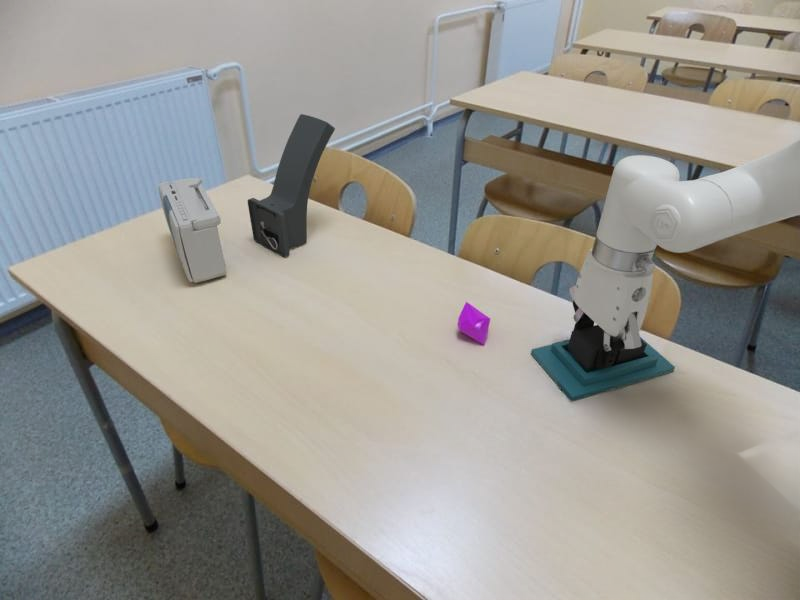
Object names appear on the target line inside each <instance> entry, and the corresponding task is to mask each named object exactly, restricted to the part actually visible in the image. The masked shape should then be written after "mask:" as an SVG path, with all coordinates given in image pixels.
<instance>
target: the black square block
mask: <svg viewBox="0 0 800 600" xmlns="http://www.w3.org/2000/svg"><path fill="white" fill-rule="evenodd" d="M569 337H570V338H569V339H570V341H569V344H568V349H569V350H570V351H571V352H572V354H573V355H574V356H575V357H576V358H577V359H578V360H579V361H580V362H581V363H582V364H583V365H584V366H585V367H586V368H587V369H588V368H592V367H594V362H595V359H596V356H597V353H598V350H599V347H600V346H603V344H604V330H603V329H602V328H601V327H600V326H598V325H597V324H596V325H595V324H594V326H591V327H587V328H583V329H579V330H575V331H573V330H572V331H571V333H570V336H569ZM613 341H615V339H614V338H613Z"/></svg>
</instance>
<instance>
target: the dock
mask: <svg viewBox="0 0 800 600" xmlns="http://www.w3.org/2000/svg"><path fill="white" fill-rule="evenodd" d="M640 339H641V340H643V341H644V342H645V343H646V344H647V345H646V348H645V350H644V353H643V356H642V358H641V359H637V360H633V361H630V362H626V363H622V364H619V365H615V366H612V365H611V366H608V367H603V368H600V369H596V368H595V367H592V368H588V369H587V368H586V367H585V366H584V365H583V364H582V363H581V362H580V361H579V360H578V359H577V358H576V357H575V356H574V355H573V354H572V352H571V351H570V350H569V349H568V344H569V341H570V338H568V339H565V340H560V341H556V342H552V343H551V344H547V345H544V346H539V347H536V348H532V349H531V350H530V355H531V356H532V358H534V359H535V361H536V362H537V364H539V365H540V367H541V368H542V370H544V371H545V373H546V374H547V375H548V376H549V377H550V378H551V380H552V381H553V382H554V383H555V384H556V385H557V387H558V388H559V389H560V390H561V391H562V393H563V394H564V395H565V396H566V398H568V400H569V401H570V402H574V401H577V400H581V399H585V398H588V397H591V396H595V395H598V394H601V393H606V392H608V391H612V390H616V389H618V388H622V387H625V386H630V385H632V384H637V383H639V382H643V381H647V380H649V379H653V378H657V377H660V376H664V375H667V374H670V373H674V371H675V369H676V367H675V365H673V364H672V363H671V362H670V361H669V360H668V359H666V358H665V357H664V356H663V355H662V354H661V353H660V352H658V351H657V349H655V348H654V347H653V346H652V345H650V343H648V341H646V340H645V339H643V338H642V337H641V336H640Z"/></svg>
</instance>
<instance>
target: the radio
mask: <svg viewBox="0 0 800 600" xmlns="http://www.w3.org/2000/svg"><path fill="white" fill-rule="evenodd" d="M203 181H205V178H204V177H201V178H200V179H199V177H189V178H183V179H182V178H181V179H177V180H171V181H165V182H160V183H159V184H158V194H159V198H160V199H159V200H160V202H161V203H160V204H161V207H162V211H163V214H164V217H165V220H166V224H167V228H168V229H169V233H170V235H171V238H172V240H173V245H174V246H175V250H176V252H177V254H178V257H179V260H180V263H181V265H182V268H183V270H184V273H185V276H186V278H187V280H188V281H189V282H190V283H195V284H196V283H197V284H198V283H201V282H205V281H209V280H213V279H216V278H219V277H224V276H226V275H227V267H226V262H225V258H224V253H223V249H222V243H221V239H220V233H219V229H218V226H219V225H220V224H222V222H221V221H222V219H221V216H220V214H219V213H218V211H217V208H216V207H215V205H214V204H213V202H212V199H211V197H210V196H209V195H208V193H207V191H206V189H205V188H204V186H203Z"/></svg>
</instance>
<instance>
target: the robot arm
mask: <svg viewBox="0 0 800 600" xmlns="http://www.w3.org/2000/svg"><path fill="white" fill-rule="evenodd" d="M680 179H681V175H680V171H679V168H678V167H677V166H676V165H675V164H674V163H672V162H670V161H668V160H666V159H664V158H661V157H658V156H652V155H644V154H642V155H641V154H638V155H637V154H636V155H629V156H625V157H623V158H622V159H620V160H619V161H618V162H617V163H616V164H615V166H614V168H613V171H612V174H611V177H610V182H609V185H608V189H607V193H606V196H605V200H604V204H603V208H602V211H601V214H600V215H601V216H600V219H599V223H598V226H597V230H596V234H595V238H594V242H593V244H592V247H591V248H590V249H589V251H588V253H587V255H586V257H585V258H584V261H583V263H582V265H581V268H580V271H579V273H578V276H577V280H576V284H574V285H572V286H571V287H569V289H568V290H569V294H570V297H571V300H572V307H573V311H574V314H573V321H574V322H575V323H574V326H573V330H572V331H575V330H579V329H583V328H587V327H591V326H595V324H596V325H598V326H600V327H601V328H602V329H603V330H604V344H603V346H600V347H599V350H598V353H597V356H596V359H595V362H594V367H595V368H596V369H600V368H603V367H608V366H611V365H613V363H614V361H615V358H616V355H617V353H618V350H619V349H634V348H638V347H641V339H640V337H641V335H640V330H641V328H642V326H643V323H644V321H645V318H646V314H647V310H648V307H649V303H650V298H651V294H652V286H653V278H654V275H653V274H654V272H653V271H654V269H655V268H656V263H655V262H653V258H654V255H655V252H656V250H657V247H660V249H662V250H665V251H667V252H671V253H679V254H681V253H682V254H683V253H689V252H693V251H695V250H696V251H697V250H698V249H701V248H703V247H706V246H709V245H712V244H714V243H716V242H720V241H722V240H725V239H727V238H730V237H733V236H736V235H740V234H742V233H745V232H748V231H751V230H755V229H757V228H761V227H763V226H767V225H770V224H774V223H777V222H780V221H784V220H787V219H789V218H793V217H797V216H800V138H799V139H797V140H795V141H793V142H792V143H789V144H787V145H785V146H783V147H781V148H779V149H777V150H774V151H772V152H769V153H767V154H765V155H763V156H760V157H757V158H755V159H753V160H751V161H748V162H745V163H743V164H741V165H738V166H735V167H733V168H730V169H727V170H724V171H721V172H718V173H713V174H710V175H705V176H703V177H700V178H696V179H691V180H690V179H689V180H680ZM625 334H626V339H625ZM613 336H615V337H616V340H615V341H613Z"/></svg>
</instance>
